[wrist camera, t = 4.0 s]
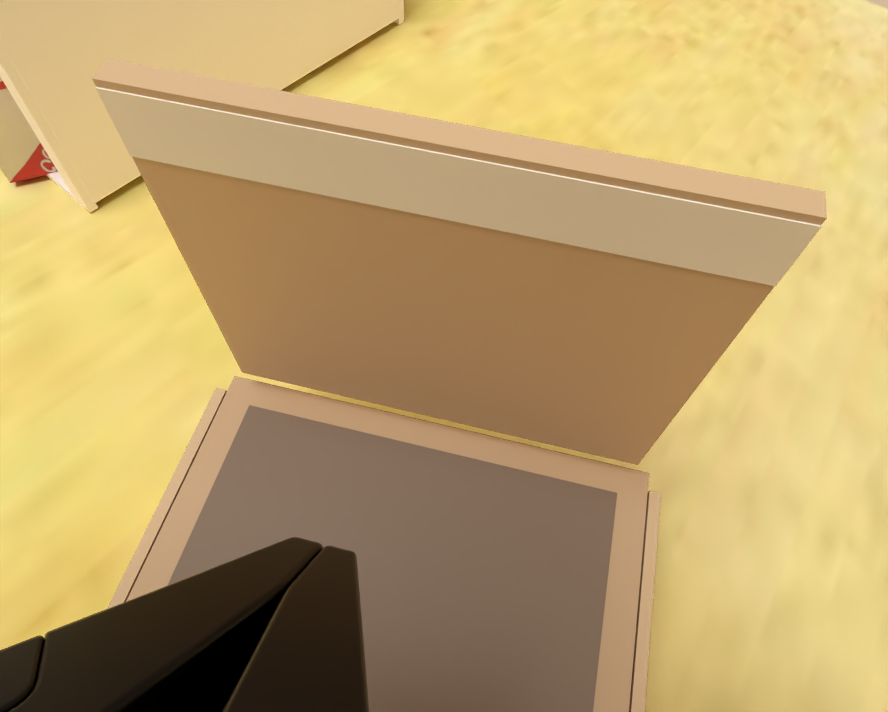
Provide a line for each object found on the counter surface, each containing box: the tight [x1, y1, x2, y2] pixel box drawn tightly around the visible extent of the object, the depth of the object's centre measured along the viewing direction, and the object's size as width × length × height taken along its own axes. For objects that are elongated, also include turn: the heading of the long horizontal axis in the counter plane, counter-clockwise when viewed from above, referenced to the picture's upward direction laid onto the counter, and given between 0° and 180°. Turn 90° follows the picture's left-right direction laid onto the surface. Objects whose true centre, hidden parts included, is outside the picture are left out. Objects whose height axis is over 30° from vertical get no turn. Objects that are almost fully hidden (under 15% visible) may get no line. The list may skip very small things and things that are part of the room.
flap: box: [92, 59, 827, 465], centre depth 14 cm, size 10×11×1 cm
